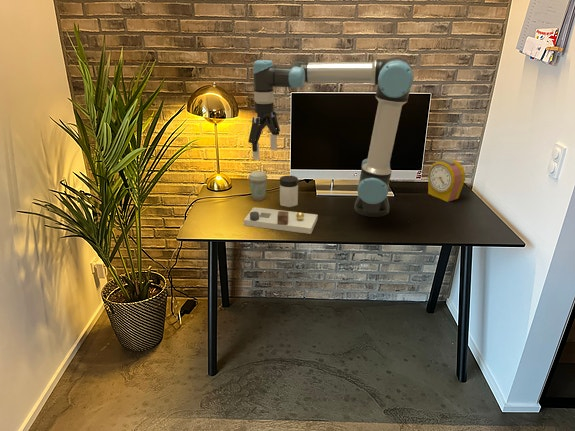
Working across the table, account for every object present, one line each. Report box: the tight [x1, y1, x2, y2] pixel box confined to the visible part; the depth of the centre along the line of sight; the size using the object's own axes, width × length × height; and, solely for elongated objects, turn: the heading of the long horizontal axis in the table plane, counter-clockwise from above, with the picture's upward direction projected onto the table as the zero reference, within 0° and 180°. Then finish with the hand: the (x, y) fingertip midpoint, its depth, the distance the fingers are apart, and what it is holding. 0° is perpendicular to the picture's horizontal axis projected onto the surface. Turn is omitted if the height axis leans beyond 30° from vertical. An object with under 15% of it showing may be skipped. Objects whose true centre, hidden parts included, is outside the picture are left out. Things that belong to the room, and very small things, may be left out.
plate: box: [243, 206, 319, 235], centre depth 188 cm, size 28×13×2 cm, turn 75°
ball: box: [296, 211, 304, 220], centre depth 185 cm, size 3×3×3 cm
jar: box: [279, 175, 299, 208], centre depth 204 cm, size 9×8×12 cm
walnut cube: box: [277, 210, 288, 225], centre depth 182 cm, size 4×4×4 cm
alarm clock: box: [427, 158, 466, 203], centre depth 212 cm, size 15×8×18 cm, turn 33°
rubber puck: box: [249, 212, 259, 221], centre depth 185 cm, size 4×4×2 cm
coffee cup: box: [248, 170, 268, 201], centre depth 209 cm, size 8×8×12 cm
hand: (265, 154), depth 186 cm, fingers open, 13 cm apart
